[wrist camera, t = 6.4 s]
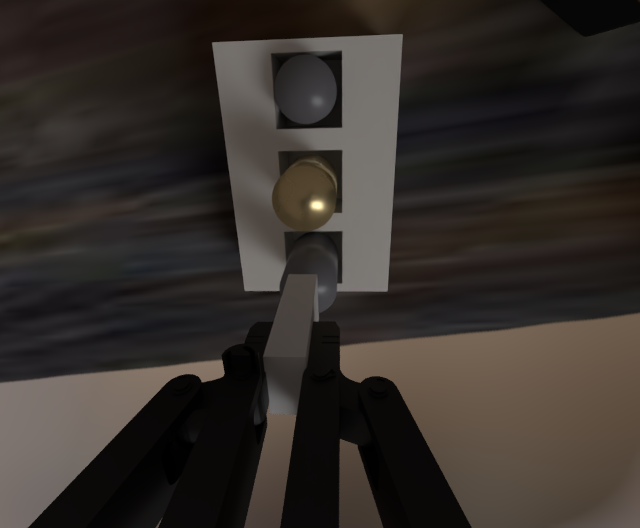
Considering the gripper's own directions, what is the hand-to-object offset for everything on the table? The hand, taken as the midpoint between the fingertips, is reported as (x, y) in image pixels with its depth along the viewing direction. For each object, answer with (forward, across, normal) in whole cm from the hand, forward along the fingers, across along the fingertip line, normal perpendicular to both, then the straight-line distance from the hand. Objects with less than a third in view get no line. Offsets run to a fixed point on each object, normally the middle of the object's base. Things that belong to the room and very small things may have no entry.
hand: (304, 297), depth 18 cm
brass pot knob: (+6, 0, -5) cm, 8 cm away
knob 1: (+9, 0, -10) cm, 14 cm away
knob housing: (+10, 0, -5) cm, 11 cm away
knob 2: (+6, 0, 0) cm, 6 cm away
